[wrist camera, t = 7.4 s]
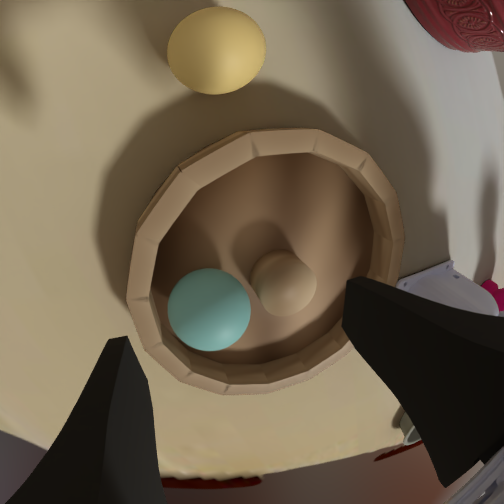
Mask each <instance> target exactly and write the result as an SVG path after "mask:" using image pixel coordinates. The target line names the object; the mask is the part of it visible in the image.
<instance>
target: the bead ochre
mask: <svg viewBox="0 0 504 504" xmlns="http://www.w3.org/2000/svg"><path fill="white" fill-rule="evenodd" d="M265 54H266V43H265V38H264V35H263V33H262V31H261V29H260V27H259V26H258V24H257V23H256V22H255V21H254V20H253V19H252V18H251V17H249V16H248V15H247V14H245V13H243V12H241V11H239V10H236V9H233V8H228V7H209V8H204V9H201V10H198V11H196V12H194V13H192V14H190V15H188V16H187V17H186V18H184V19H183V20H182V21H181V22H180V23H179V24H178V25H177V26H176V28H175V29H174V31H173V32H172V34H171V36H170V39H169V42H168V47H167V57H168V63H169V66H170V68H171V70H172V72H173V74H174V75H175V77H176V78H177V79H178V80H179V81H180V82H181V83H182V84H184V85H185V86H187V87H188V88H190V89H192V90H194V91H197V92H200V93H204V94H224V93H229V92H232V91H235V90H237V89H239V88H241V87H243V86H245V85H246V84H247V83H249V82H250V81H251V80H252V79H253V78H254V77H255V76H256V75H257V74H258V72H259V70H260V69H261V67H262V65H263V63H264V59H265Z"/></svg>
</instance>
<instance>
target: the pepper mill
mask: <svg viewBox="0 0 504 504" xmlns="http://www.w3.org/2000/svg"><path fill="white" fill-rule="evenodd" d="M481 287H482V288H484V289H485V290H487V291H488V292H489V293H490V294H491V295H492V296H493V298H494V299H495V301H496V303H497V305H498V309H499V312H500V311H504V288H502V289H498V285H497V284H496V283H495V282H493V281H491V280H487V281H485V282H484V283H483V284H482V286H481Z"/></svg>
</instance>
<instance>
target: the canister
mask: <svg viewBox="0 0 504 504" xmlns="http://www.w3.org/2000/svg"><path fill="white" fill-rule="evenodd" d="M405 1H406V3H407V5H408V6H409V8H410V9H411V11H412V12H413V14H414V15H415V17H416V18H417V19H418V21H419V22H420V23H421V24H422V26H423V27H424V28H425V29H426V30H427V31H428V32H429V33H430V34H431V35H432V36H433V37H434V38H435V39H436V40H437V41H438V42H440V43H441V44H442V45H444V46H446V47H448V48H450V49H453V50H460V51H462V52H473V53H477V52H480V51H500V52H504V0H405Z"/></svg>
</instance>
